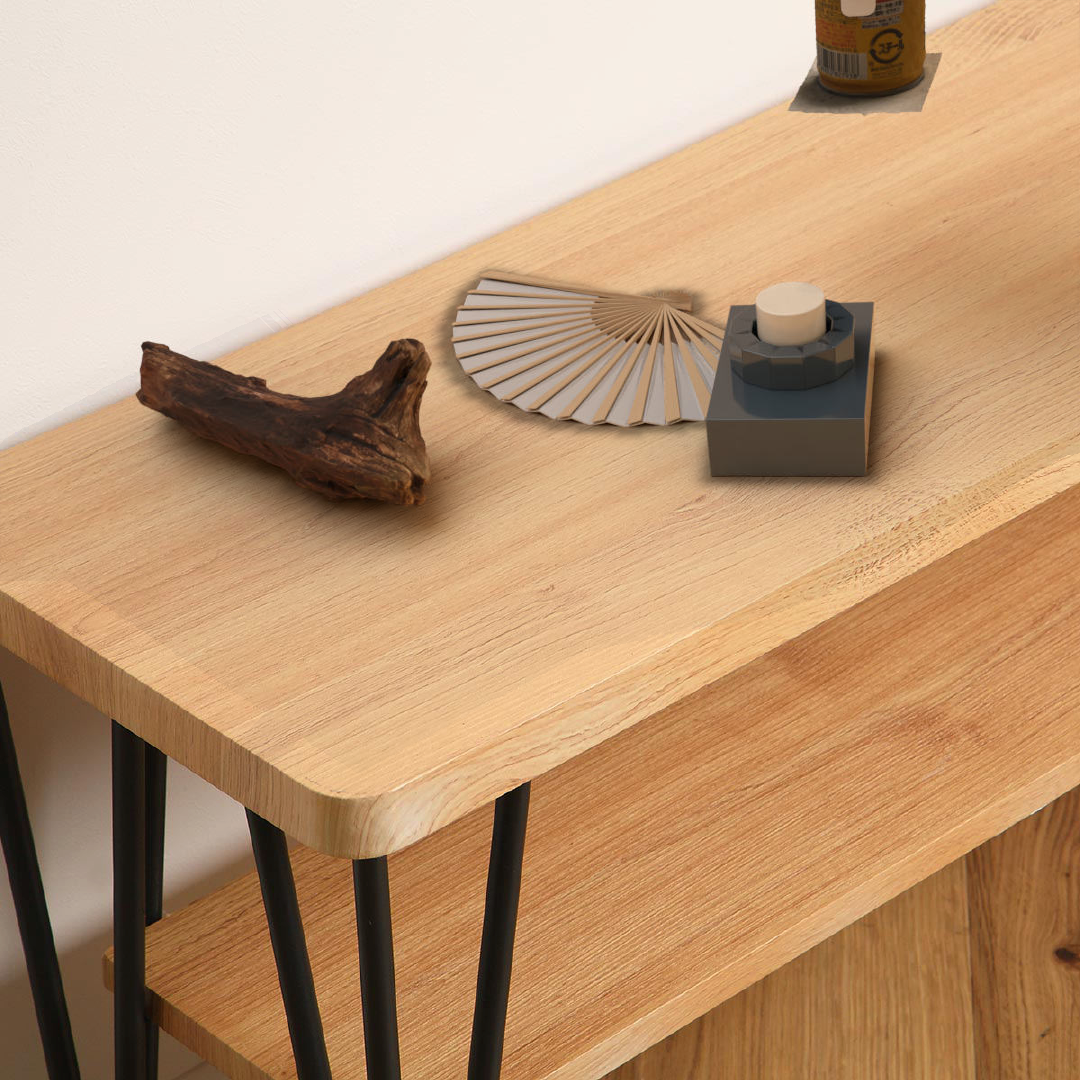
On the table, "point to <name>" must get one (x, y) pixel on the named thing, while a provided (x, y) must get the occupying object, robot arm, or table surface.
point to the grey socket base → (793, 398)
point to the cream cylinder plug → (791, 314)
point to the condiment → (868, 61)
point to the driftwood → (307, 421)
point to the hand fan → (585, 351)
